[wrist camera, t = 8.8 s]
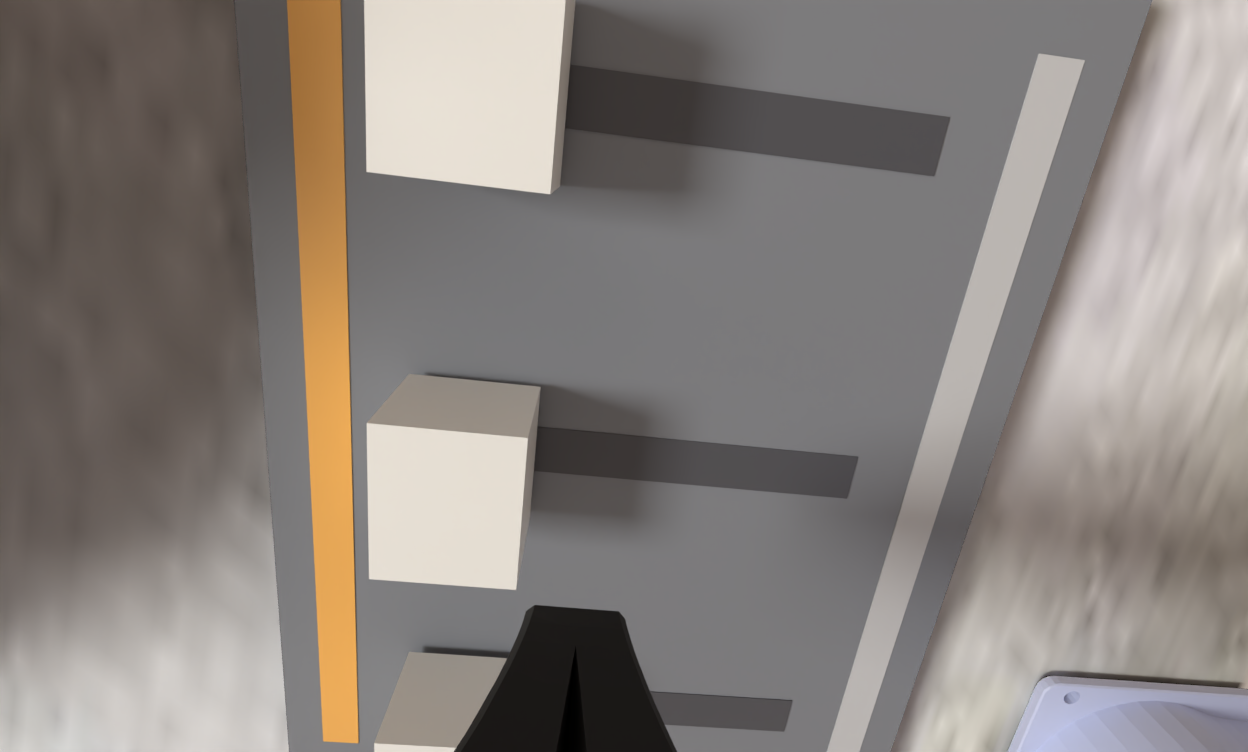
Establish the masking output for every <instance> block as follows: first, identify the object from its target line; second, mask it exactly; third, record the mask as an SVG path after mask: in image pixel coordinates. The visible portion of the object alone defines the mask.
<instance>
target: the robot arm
mask: <svg viewBox="0 0 1248 752" xmlns="http://www.w3.org/2000/svg"><path fill="white" fill-rule="evenodd" d="M454 752H677V750H676V748H675V746H674V744H673V742H672V739H671V737H670V735H669V733H668V731H667V729H666V726H665V724H664V722H663V720H662V718H661V716H660V713H659V711H658V709H657V707H656V704H655V702H654V700H653V697H652V695H651V693H650V690H649V688H648V685H647V683H646V680H645V678H644V675H643V673H642V670H641V667H640V665H639V662H638V659H637V657H636V654H635V651H634V648H633V645H632V642H631V639H630V635H629V632H628V628H627V625H626V620H625V618H624V617H623V616H622V615H621V613H620V612H619V611H608V610H595V609H582V608H569V607H555V606H542V605H534V606H532V607H531V608H530V609H528V610H527V611H526V613H525V616H524V620H523V623H522V626H521V628H520V631H519V633H518V636H517V638H516V640H515V643H514V645H513V647H512V649H511V651H510V654H509V656H508V658H507V660H506V662H505V664H504V666H503V668H502V670H501V672H500V674H499V676H498V678H497V679H496V681H495V683H494V685H493V687H492V688H491V690H490V692H489V694H488V695H487V697H486V699H485V701H484V702H483V704H482V706H481V708H480V709H479V711H478V713H477V715H476V716H475V718H474V720H473V722H472V723H471V725H470V727H469V728H468V730H467V732H466V733H465V735H464V737H463V738H462V740H461V741H460V743H459V744H458V746H457V747H456V749H455V750H454ZM1007 752H1248V689H1241V688H1226V687H1212V686H1197V685H1182V684H1168V683H1153V682H1138V681H1124V680H1109V679H1094V678H1079V677H1065V676H1048V677H1045V678H1043V679H1041V680H1040V681H1039V682H1038V683H1037V685H1036V686H1035V689H1034V691H1033V693H1032V696H1031V698H1030V700H1029V703H1028V705H1027V707H1026V710H1025V712H1024V714H1023V717H1022V719H1021V721H1020V723H1019V726H1018V728H1017V730H1016V733H1015V735H1014V737H1013V740H1012V742H1011V744H1010V747H1009V749H1008V751H1007Z"/></svg>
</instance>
